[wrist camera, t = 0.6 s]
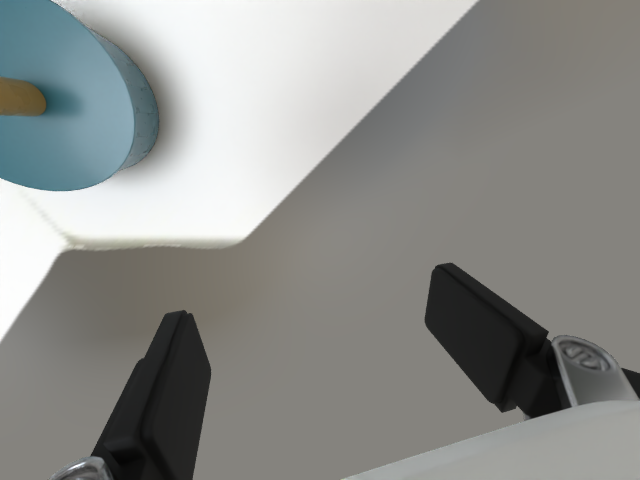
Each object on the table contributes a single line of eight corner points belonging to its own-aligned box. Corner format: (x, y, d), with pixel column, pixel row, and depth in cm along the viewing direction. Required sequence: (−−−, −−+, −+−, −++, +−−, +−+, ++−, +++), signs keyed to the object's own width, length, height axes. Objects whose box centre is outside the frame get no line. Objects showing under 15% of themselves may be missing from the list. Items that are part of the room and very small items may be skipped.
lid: (-153, -27, 17) (-368, -106, 11) (104, -13, 20) (39, -70, 14) (-20, 194, 24) (-112, 219, 18) (161, 182, 26) (133, 199, 21)
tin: (-36, 19, 24) (-150, -21, 17) (136, 25, 26) (95, -8, 20) (40, 175, 30) (-22, 190, 23) (173, 167, 32) (152, 178, 26)
